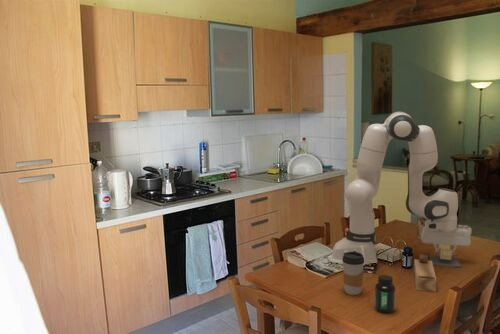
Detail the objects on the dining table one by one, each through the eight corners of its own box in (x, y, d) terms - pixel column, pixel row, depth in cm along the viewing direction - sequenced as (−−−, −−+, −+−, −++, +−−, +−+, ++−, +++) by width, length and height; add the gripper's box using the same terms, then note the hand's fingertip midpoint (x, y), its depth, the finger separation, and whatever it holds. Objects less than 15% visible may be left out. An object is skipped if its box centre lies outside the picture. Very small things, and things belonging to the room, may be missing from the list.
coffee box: (438, 241, 219) (439, 211, 216) (428, 243, 217) (429, 212, 215) (426, 236, 228) (427, 207, 225) (416, 237, 226) (417, 208, 223)
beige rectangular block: (440, 259, 188) (440, 250, 188) (438, 252, 197) (438, 243, 196) (451, 259, 187) (451, 251, 186) (448, 252, 195) (449, 244, 195)
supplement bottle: (386, 315, 146) (387, 283, 144) (370, 308, 152) (371, 276, 150) (398, 309, 150) (399, 277, 148) (382, 302, 156) (383, 271, 154)
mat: (431, 265, 189) (431, 263, 189) (428, 255, 200) (428, 254, 200) (460, 267, 185) (460, 266, 185) (456, 257, 196) (456, 256, 196)
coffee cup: (347, 285, 171) (348, 249, 169) (367, 290, 166) (368, 254, 163) (338, 292, 164) (338, 256, 162) (358, 298, 159) (358, 260, 157)
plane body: (416, 289, 165) (417, 270, 164) (413, 270, 184) (414, 252, 183) (435, 292, 163) (436, 272, 162) (431, 271, 182) (432, 254, 180)
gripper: (470, 223, 189) (469, 253, 192) (421, 220, 196) (420, 249, 198) (473, 227, 183) (471, 258, 186) (422, 224, 190) (421, 253, 192)
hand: (444, 253), depth 192 cm, fingers closed on beige rectangular block, 4 cm apart
